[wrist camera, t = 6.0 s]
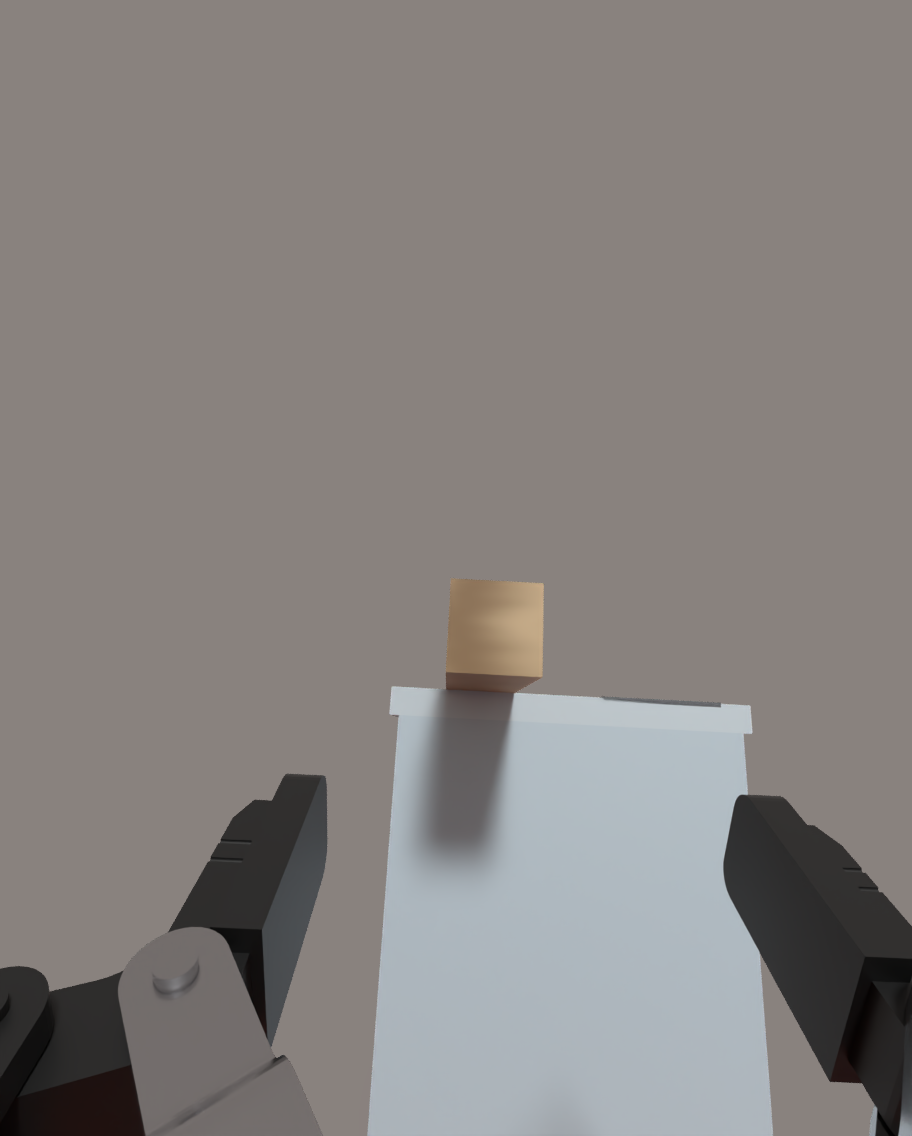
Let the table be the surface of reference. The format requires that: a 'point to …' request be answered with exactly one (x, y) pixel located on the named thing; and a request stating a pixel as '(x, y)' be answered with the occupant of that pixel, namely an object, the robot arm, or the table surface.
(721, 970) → the light grey cabinet
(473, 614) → the oak batten
